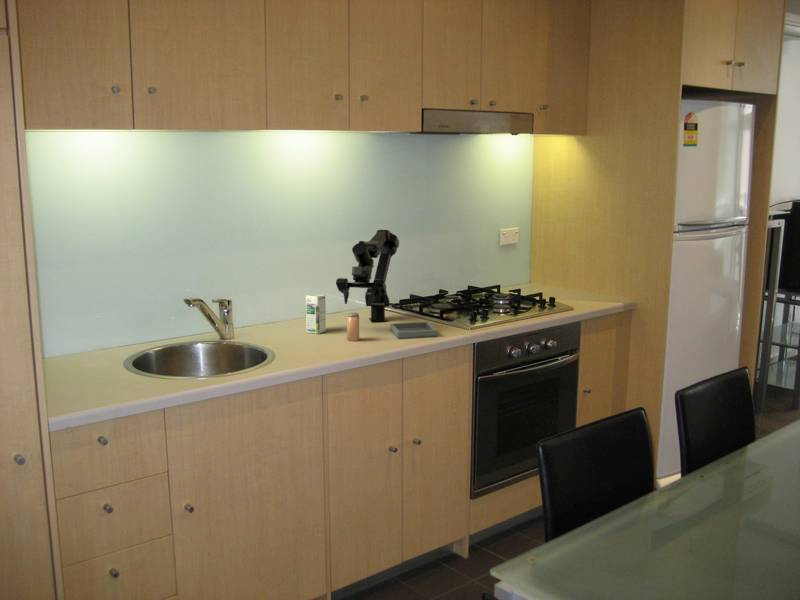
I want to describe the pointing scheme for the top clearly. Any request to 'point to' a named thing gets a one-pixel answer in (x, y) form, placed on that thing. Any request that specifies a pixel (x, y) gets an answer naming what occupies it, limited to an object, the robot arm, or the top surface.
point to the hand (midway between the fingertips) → (357, 303)
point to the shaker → (353, 327)
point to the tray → (413, 330)
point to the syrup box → (315, 314)
